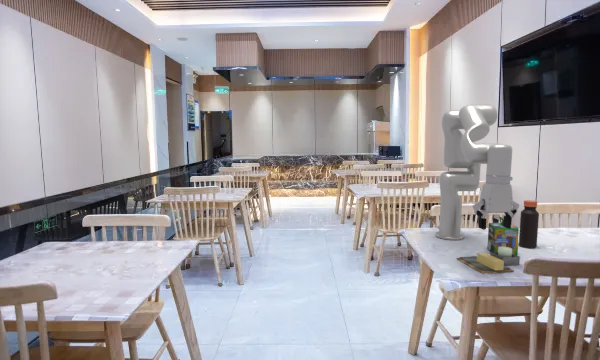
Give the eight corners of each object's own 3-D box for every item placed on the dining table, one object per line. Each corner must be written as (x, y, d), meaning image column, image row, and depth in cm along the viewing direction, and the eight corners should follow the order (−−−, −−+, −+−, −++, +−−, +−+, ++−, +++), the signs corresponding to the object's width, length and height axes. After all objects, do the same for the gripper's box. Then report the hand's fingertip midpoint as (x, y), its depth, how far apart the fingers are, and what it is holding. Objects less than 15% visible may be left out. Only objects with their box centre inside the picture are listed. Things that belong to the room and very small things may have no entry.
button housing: (489, 259, 145) (490, 252, 145) (506, 258, 147) (506, 251, 146) (502, 265, 139) (502, 257, 138) (519, 264, 140) (519, 257, 139)
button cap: (495, 256, 144) (495, 246, 144) (505, 256, 145) (506, 246, 145) (503, 260, 140) (503, 250, 139) (514, 260, 141) (515, 249, 140)
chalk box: (517, 256, 150) (520, 219, 149) (493, 254, 152) (495, 218, 150) (509, 249, 159) (512, 215, 158) (486, 248, 161) (488, 214, 160)
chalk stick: (495, 270, 130) (476, 261, 140) (503, 269, 131) (484, 260, 141) (495, 261, 130) (477, 253, 140) (503, 261, 131) (484, 252, 140)
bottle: (519, 247, 162) (522, 201, 160) (517, 243, 169) (520, 199, 166) (538, 249, 160) (541, 202, 158) (534, 245, 166) (538, 200, 164)
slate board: (456, 259, 146) (456, 256, 146) (484, 257, 148) (484, 255, 148) (482, 273, 130) (482, 270, 130) (513, 271, 132) (513, 268, 132)
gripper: (512, 178, 136) (509, 224, 138) (468, 179, 133) (465, 226, 135) (528, 181, 129) (524, 230, 131) (482, 182, 126) (478, 231, 128)
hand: (494, 228), depth 133 cm, fingers open, 9 cm apart
